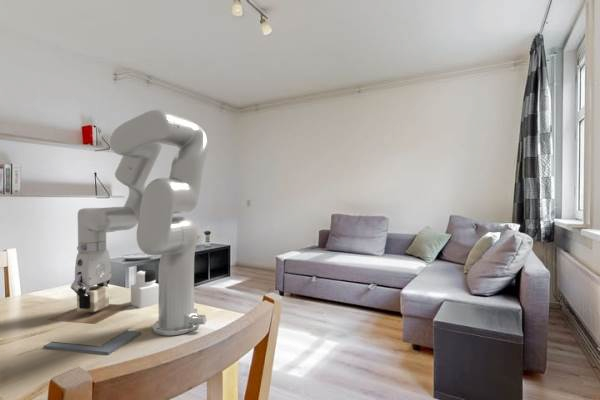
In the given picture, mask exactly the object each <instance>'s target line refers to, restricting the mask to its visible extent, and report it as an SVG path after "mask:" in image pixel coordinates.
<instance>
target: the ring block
mask: <svg viewBox="0 0 600 400" xmlns="http://www.w3.org/2000/svg"><path fill="white" fill-rule="evenodd" d="M109 289H110V288H109V286H108V287H106V286H97V285H93V286H90V289H89V293H88V295H90V308H88V309H83V308H79V296H78V295H77V294H76V308H77V311H92V312H95V311H97V310H99V309H102V308H104V307H106V306H108V305H109V304H110V300H109V299H110V298H109V297H110V292H109ZM83 290H84V291H85V288H83Z"/></svg>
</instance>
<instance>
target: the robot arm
mask: <svg viewBox="0 0 600 400" xmlns="http://www.w3.org/2000/svg"><path fill="white" fill-rule="evenodd" d="M109 139H110V140H109V145H110V148H111V150H112V151H113V152H114V153H115V154H116V155H118V156H122V157H121V159H120V162H119V164H118V166H117V168H116V170H115V173H114V177H115V179H116V180H117V181H118V182H119V183H121V184H122V185H124V186H125V187H128V192H129V194H128V197H127V199H126V201H125V204H124V205H123V206H111V207H86V208H85V207H83V208H80V209H79V210H78V211H77V247H76V249H77V254H76V259H75V265H74V266H75V267H74V280H73V282H72V284H71V285H70V289H71V290H72V291H74V292H75V293H76V296H77V295H78V296H79V308H83V309H88V308H90V295H88V293H89V289H90V287H91V286H106V287H109V286H108V285H109V283H110V280H111V279H112V277H113V273H112V265H111V258H110V253H109V250H108V249H107V233H113V232H118V231H119V232H120V231H126V230H127V231H128V230H129V231H130V230H131V229H133V228H135V227H136V226H137V228H136V242H137V246H138V248H139V249H140V251H141V252H142V253H144V254H145V255H147V256H159V255H160V259H159V263H158V284H159V304H158V320H157V321H155V322H153V324H152V332H153V333H155V334H157V335H160V336H178V335H182V334H186V333H190V332H192V331H194V330H195V329H197V328H198V327H199V326H200V325H206V323H207V316H206V314H199V312H198V308H195V254H196V253H195V252H196V248H197V242H198V228H197V225H196V224H195V222H194V221H193V220H191V219H190V218H189V217H185V216H174V214H183V213H189V212H192V211H193V210H194V209H195V208H196V207H197V205H198V202H199V197H200V193H201V185H202V180H203V174H204V167H205V162H206V158H207V155H208V149H209V141H208V137H207V133H206V132H205V130H204V129H203V128H202V127H201V126H200V125H199V124H198V123H197V122H194V121H193V120H191V119H189V118H186V117H182V116H180V115H177V114H174V113H171V112H168V111H167V110H166V111H165V110H161V109H151V110H148V111H146V112H143V113H140V115H137V116H134V117H133V118H131V119H128V120H127V121H124V122H123V123H122V124H121V123H120V124H119V125H118V126H117V127H116V128H115V129H114V130H113V131H112V133H111V136H110V138H109ZM163 145H167V146H173V147H177V148H178V149H179V150H178V151H177V153H176V154H175V156H174V157H173V159H172V162H171V167H170V172H169V173H170V174H169V176H168V177H158V178H155V179H154V180H152V181H150V182H149V183H148V184H147V185H145V184H146V182H147V180H148V178H149V177H150V173H151V171H152V169H153V168H154V165H155V163H156V162H157V159H158V157H159V155H160V153H161V150H162V146H163ZM145 186H146V187H145ZM83 289H85V291H84V290H83Z"/></svg>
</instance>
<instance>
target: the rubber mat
mask: <svg viewBox="0 0 600 400" xmlns="http://www.w3.org/2000/svg"><path fill="white" fill-rule="evenodd" d="M141 334H142V331H140V330H139V331H136V330H125V331H123V332H122V333H120V334H119V335H117V336H115V337H113V338H111V339H110V340H108V341H107V342H105V343H103V344H102V345H91V344H80V343H71V342H70V343H68V342H59V341H58V342H57V341H50V342H48V343H46V344H44V345H43V349H48V350H57V351H58V350H59V351H69V352H77V353H78V352H79V353H87V354H90V353H91V354H99V355H110V354H112V353H113V352H115V351H116V350H118V349H120V348H121V347H122V346H124V345H125V344H128V343H129V342H130V341H132V340H133V339H135V338H137V337H138V336H140V335H141Z"/></svg>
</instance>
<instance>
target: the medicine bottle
mask: <svg viewBox="0 0 600 400" xmlns="http://www.w3.org/2000/svg"><path fill="white" fill-rule="evenodd" d="M156 273H157V272H156V270H153V269H142V270H139V271H137V272H136V273H135V276H136V277H135V283H134V284H131V286H130V305H132V306H135V307H137V309H138V308H139V309H143V308H147V307H151V306H154V305H159V283H156V281H157V280H156V278H157V277H156Z"/></svg>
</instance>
